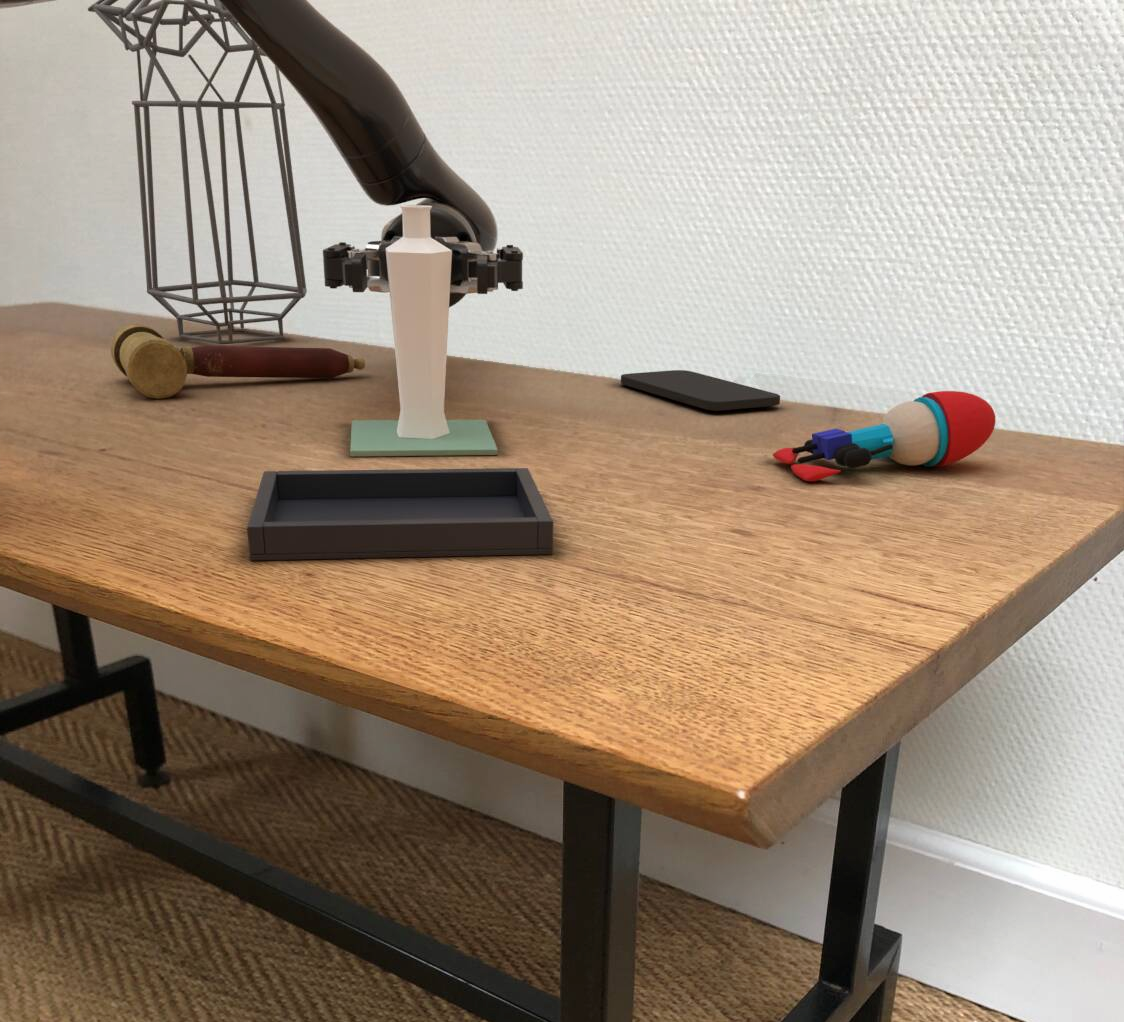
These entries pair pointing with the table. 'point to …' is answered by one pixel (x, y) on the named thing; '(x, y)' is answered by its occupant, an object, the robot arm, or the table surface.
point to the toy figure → (903, 436)
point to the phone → (700, 390)
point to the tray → (398, 514)
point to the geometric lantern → (206, 165)
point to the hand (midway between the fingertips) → (419, 276)
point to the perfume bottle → (420, 323)
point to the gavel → (215, 361)
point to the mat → (421, 440)
